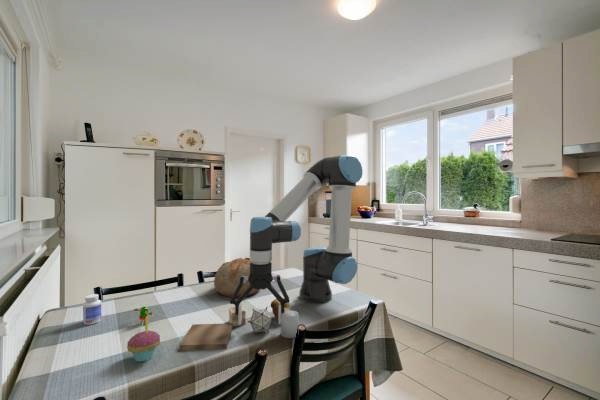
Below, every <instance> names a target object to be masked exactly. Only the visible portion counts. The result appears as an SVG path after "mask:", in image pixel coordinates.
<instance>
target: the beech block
mask: <svg viewBox="0 0 600 400" xmlns="http://www.w3.org/2000/svg"><path fill="white" fill-rule="evenodd" d="M228 323H233V327H236V326H239V325H238V315H236V314H235V306H233V307H229V308H228ZM242 325H246V309H245V308H244V306H242V319H241V325H240V326H242Z"/></svg>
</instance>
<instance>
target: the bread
mask: <svg viewBox="0 0 600 400" xmlns="http://www.w3.org/2000/svg"><path fill="white" fill-rule="evenodd" d="M250 263H251V261H250V257H245V258H242V257H239V258H235V259H232V260H231V261H226V262H223V263H222V264H221V266H220V267H219V268H217V270H216V272H215V276H214V279H213V286H214V289H215V290H216V292H217V293H219V294H220V295H222V296H225V297H230V298H232V296H233V294H234V292H235V290H236V288H237V287H238V285H239V283H240V277H241V275H244V276H248V277H249V275H250ZM249 285H250V282H249V281H248V280H247V281H246V282H245V283H243V285H242V287H241V289H240V291H239V293H238V295H237V297H236V298H239V297H240V296H241V295H242V293H243V292H244V291H245V290H246V289H247V288H248V286H249ZM258 291H260V289H258V290H256V289H254V288H253V289H252V290H251V291H250V292H249V293H248V295H247V296H250V295H253V294H255V293H257V292H258Z"/></svg>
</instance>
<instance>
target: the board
mask: <svg viewBox="0 0 600 400" xmlns="http://www.w3.org/2000/svg"><path fill="white" fill-rule="evenodd" d="M233 329H234V326H233V323H230V322H228V323H202V324H201V323H200V324H199V323H198V324H197V323H195V324H194V323H193V324H192V325H191V327H190V328H189V330H187V333H186V334H185V337H184V338H183V339H182V341H181V343H180V344H179V351H196V350H199V351H200V350H216V349H217V350H218V349H219V350H220V349H223V350H224V349H228V348H227V347H228V344H229V342H230V340H231V335H232V332H233Z"/></svg>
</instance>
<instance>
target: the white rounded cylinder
mask: <svg viewBox="0 0 600 400" xmlns="http://www.w3.org/2000/svg"><path fill="white" fill-rule="evenodd" d="M299 316H300V315H299V312H297V310H290V311H284V313H281V324H280V335H281V336H282V337H283V338H287V339H293V338H297V337H296V333H297V327H298V326H299V323H300V322H299V321H300V318H299ZM298 328H299V327H298Z"/></svg>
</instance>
